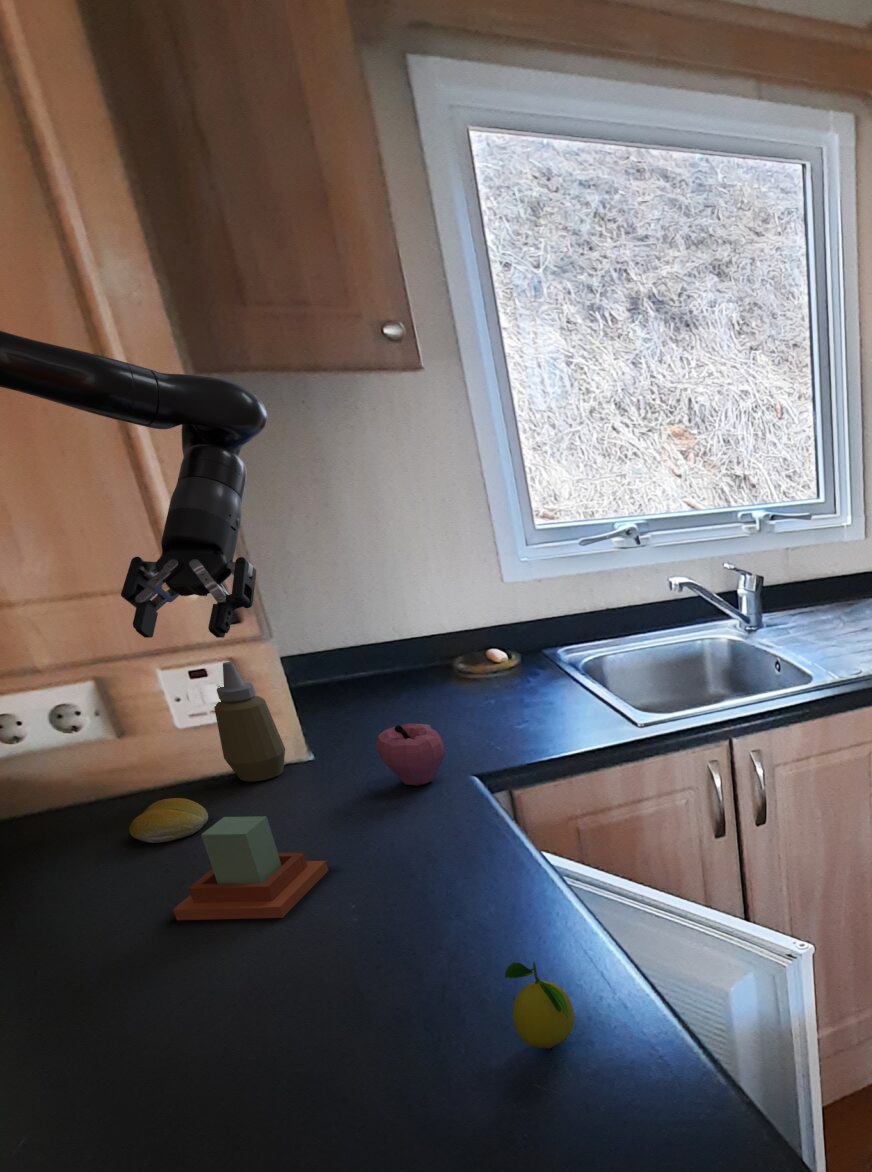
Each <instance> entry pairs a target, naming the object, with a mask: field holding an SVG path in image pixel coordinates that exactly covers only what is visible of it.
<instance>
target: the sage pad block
mask: <svg viewBox="0 0 872 1172" xmlns="http://www.w3.org/2000/svg"><path fill="white" fill-rule="evenodd" d="M200 836H201V839H202V842H203V845H204V848H205V851H206V854H207V857H208V860H209V862H210V866H211V869H213V872H214V874H215V877H216V880H217V883H218V884H237V883H264V882H265V881H266V880H267V879H268V878H269V877H270V876H271V875H273V874H274V873H275V872H276V871H277V870H278V869H279V868H280V867H281V866H282V865H281V862H280V859H279V855H278V853H279V852H278V849H277V846H276V841H275V840H274V836H273V833H272V830H271V826H270V822H269V819H268V817H267V816H265V815H263V816H261V815H260V816H258V815H257V816H256V815H255V816H223V817H222V818H220V819H219V820H218V821H216V823H213V825H212V826H210V827H209V828H208V829H207V830H205V831H204V832H202V833H201V834H200Z"/></svg>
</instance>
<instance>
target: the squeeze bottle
mask: <svg viewBox="0 0 872 1172" xmlns="http://www.w3.org/2000/svg"><path fill="white" fill-rule="evenodd" d="M222 677H223V678H222V679H223V680H222V681H223V685H224V687H220V686H219V687H220V688H218V687H217V688H216V693H217V696H218V699H219V701H221V702H219V701H218V702H217V703H216V704H215V705H216V706H214V707H213V709H214V713H215V719H216V724H217V729H218V734H219V739H220V745H221V750H222V755H223V759H224V761H225V762H226V763H227V764H228V766H229V767H230V768H231V769H232V771H233V772H234V773H235V775H236V776H237V777H238V778H239V780H240V781H243V782H262V781H266V780H270V779H274V778H276V777H278V776H280V775H282V774H283V773H284V767H285V756H286V747H285V744H284V742H283V739H282V737H281V735H280V733H279V730H278V727H277V725H276V723H275V720H274V719H273V716H272V713H271V712H270V709H269V707H268V704H267V702H266V700H265V699H264V698H263V697H262V696H259V695H256V690H255V686H254V684H253V683H252V682H247V681H246V683H244V682H245V681H244V680H243V679H242V677H241V675H240V673H239V672H238V670H237V668H236V667H235V665H234V663H233V662H232V661H226V662H223V663H222Z"/></svg>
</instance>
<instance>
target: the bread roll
mask: <svg viewBox="0 0 872 1172" xmlns="http://www.w3.org/2000/svg"><path fill="white" fill-rule="evenodd" d="M208 820H209V813H208V812H207V809H206V808H205V807H204V806H202V805H201V804H200V803H198V802H196V801H194V800H191V799H188V798H183V797H182V798H181V797H172V798H165V799H161V800H158V801H155V802H153V803H152V804H150V805H149V806H148V807H147V808H145V810H144V811H143V812H142V813H141V814H139V815H138V816H136V817H135V818H134V819H133V820H132V822H131V824H129V825H130V826H129V829H128V830H129V834H130V836H131V837H132V838H133V839H136V840H138V841H140V842H145V843H150V844H160V843H167V842H173V841H176V840H180V839H183V838H186V837H190V836H192V835H193V834H196V833H197V832H198V831H200V830H202V829H203V827H204V826H205V824H207V822H208Z"/></svg>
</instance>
